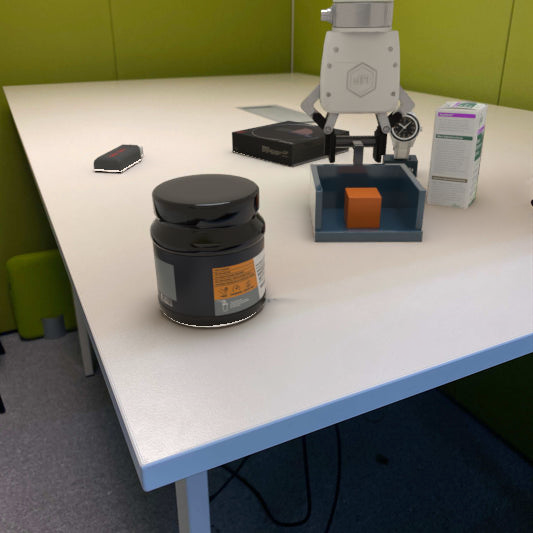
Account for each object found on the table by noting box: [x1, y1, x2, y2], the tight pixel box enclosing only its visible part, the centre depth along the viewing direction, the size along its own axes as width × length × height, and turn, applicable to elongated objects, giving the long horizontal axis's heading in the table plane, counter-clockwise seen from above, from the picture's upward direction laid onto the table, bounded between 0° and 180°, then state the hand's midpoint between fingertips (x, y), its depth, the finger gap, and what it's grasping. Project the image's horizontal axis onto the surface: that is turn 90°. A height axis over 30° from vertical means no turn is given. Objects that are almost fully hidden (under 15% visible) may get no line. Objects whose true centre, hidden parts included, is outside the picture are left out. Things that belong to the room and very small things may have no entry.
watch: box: [381, 109, 423, 178], centre depth 91 cm, size 6×8×11 cm
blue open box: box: [308, 134, 427, 243], centre depth 70 cm, size 17×13×10 cm
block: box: [344, 188, 382, 228], centre depth 69 cm, size 4×4×4 cm
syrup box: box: [425, 100, 489, 210], centre depth 75 cm, size 6×6×14 cm
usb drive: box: [93, 144, 144, 171], centre depth 102 cm, size 5×12×3 cm, turn 168°
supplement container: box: [149, 173, 267, 326], centre depth 51 cm, size 10×10×12 cm
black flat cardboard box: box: [231, 120, 351, 167], centre depth 110 cm, size 16×17×4 cm
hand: (354, 159), depth 77 cm, fingers closed on blue open box, 5 cm apart
